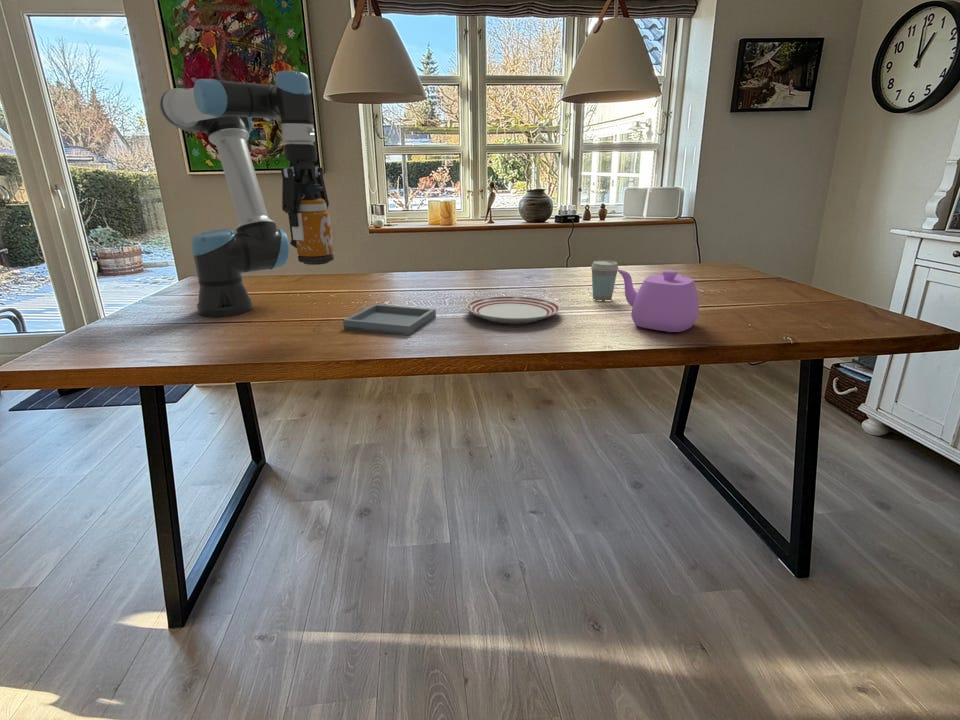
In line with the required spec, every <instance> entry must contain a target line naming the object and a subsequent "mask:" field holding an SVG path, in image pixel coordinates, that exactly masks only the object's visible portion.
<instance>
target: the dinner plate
mask: <svg viewBox="0 0 960 720" xmlns="http://www.w3.org/2000/svg"><path fill="white" fill-rule="evenodd" d="M465 308H466V310H467V312H469V313H471V314H473V315H474V316H476V317H479V318H481V319H484V320H486V319H487V320H486V321H489V320H490V322H492V321H493V323H497V322H498V323H499V324H507V323H508V324H510V325H517V324H519V325H520V324H529V323H535V322H538V320H539V321H541V320H544V319H547V318H549V317H552V316H554V315H556V314H557V313H559V312H560V311H561V306H560V305H559V304H558V303H556V302H555V301H552V300H548V299H545V298H540V297H533V296H525V295H523V296H521V295H494V296H487V297H486V296H485V297H479V298H476V299H474V300H470V301H468V302H467V303H466V304H465Z"/></svg>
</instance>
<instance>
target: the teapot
mask: <svg viewBox="0 0 960 720" xmlns="http://www.w3.org/2000/svg"><path fill="white" fill-rule="evenodd" d="M618 269H619V268H618ZM618 269H616V270H617V273H619V274H620V275H621V276H622V279H623V282H624V296H625V300H626V302H627V303H628V304H629V305H630V306H631V311H630V313H631V319H632V322H633V324H634V325H635V326H637V327H640V328H642V327H643V329H649V330H654V331H655V330H656V331H662V332H667V333H670V332H677V333H681V332H684V331H686V330H689V329H691V328H692V327H693V326H694V325H695V323H696V322H697V320H698V318H699V315H700V314H699V313H700V303H699V302H700V301H699V293H698V291H697V287H696V284H695V280H694V279H693V278H691V277H690V276H689V277H688V276H687V277H686V276H685V275H684V274H678V271H677V270H673V269H664V270H662V274H660V273H659V274H652V275H650V276H647V277H646V278H645V279H644V280H643V282H642V283H641V285H640V287H639V289H638V291H636V290H635V287H634V285H633V280H632V277H631V275H630V274H631V273H630V272H628V271H625V270H623V269H619V270H618Z"/></svg>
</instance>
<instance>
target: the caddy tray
mask: <svg viewBox="0 0 960 720" xmlns="http://www.w3.org/2000/svg"><path fill="white" fill-rule="evenodd" d="M436 311H437V310H436V308H425V307H415V306H414V307H413V306H405V305H403V306H401V305H393V304H391V305H389V304H379V303H375V304H372V305H370V306H368V307H366V308H364V309H363V310H360V311H358V312H356V313H353V314H352V315H350V316H348V317H346V318H344V319H342V322H343V323H342V324H343V329H344V330H350V331H351V330H353V331H359V330H360V332H362V331H363V332H370V333H380V334H390V335H400V336H412V335H413V334H414V333H416V332H418V331H419V330H420V329H422V328H423V327H425V326H426V325H427V324H429V323H430V322H432V321H434V320H435V319H436V318H437V313H436ZM434 318H435V319H434Z"/></svg>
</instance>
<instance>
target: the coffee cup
mask: <svg viewBox="0 0 960 720" xmlns="http://www.w3.org/2000/svg"><path fill="white" fill-rule="evenodd" d="M618 265H619V264H618V262H617V261H612V260H594V261H593V262H592V264H591V267H590V269H591V281H592V282H591V283H592V300H593V299H595V300H602V301H605V300H611V301H612V299H613V294H614V289H615V285H616V278H617V275H618V271H617V270H616V269H618V270H620V269H619V266H618ZM595 300H594V301H595Z"/></svg>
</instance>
